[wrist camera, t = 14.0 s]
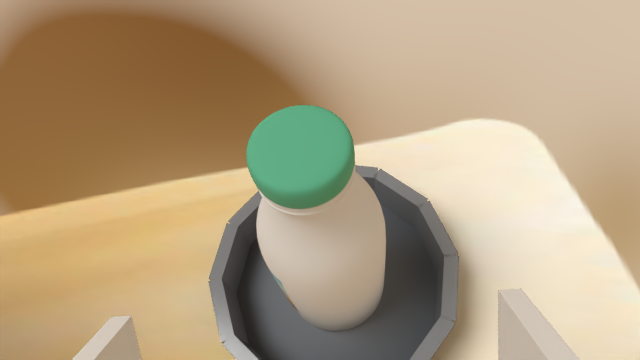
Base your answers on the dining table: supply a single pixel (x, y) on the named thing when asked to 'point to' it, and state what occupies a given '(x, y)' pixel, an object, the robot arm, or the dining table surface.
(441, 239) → the bowl
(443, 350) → the dining table surface
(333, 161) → the milk bottle
